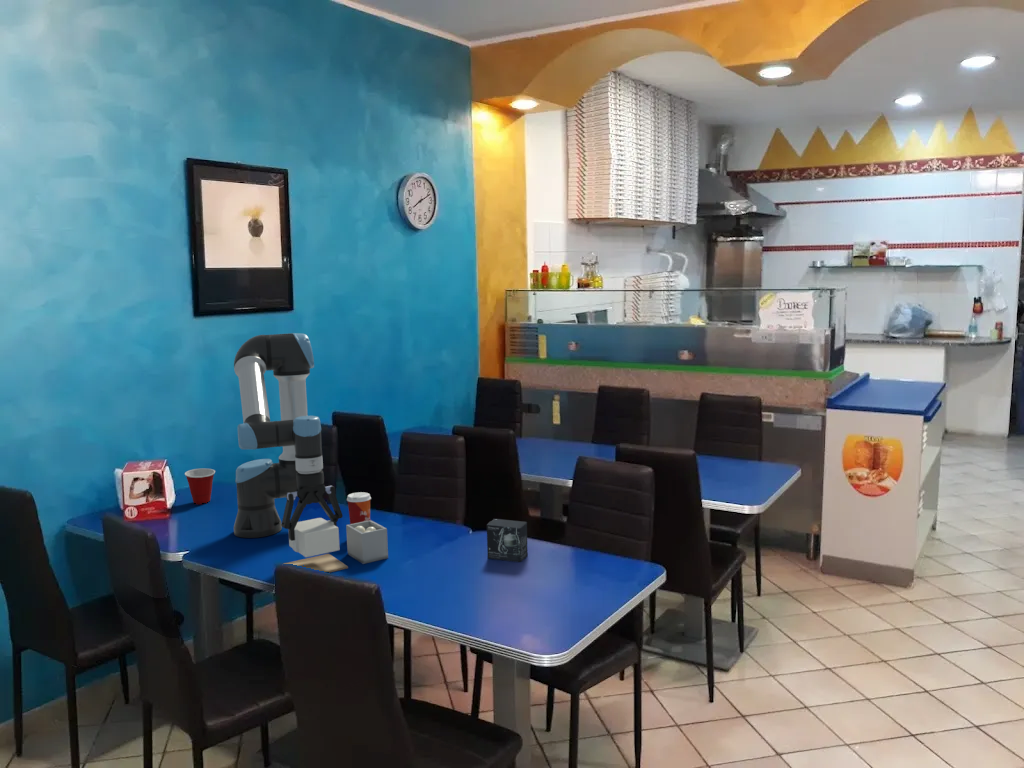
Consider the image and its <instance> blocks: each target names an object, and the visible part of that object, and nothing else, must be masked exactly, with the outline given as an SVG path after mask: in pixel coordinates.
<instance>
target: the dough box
mask: <svg viewBox="0 0 1024 768" xmlns="http://www.w3.org/2000/svg"><path fill="white" fill-rule="evenodd" d="M345 526H346V527H345V528H346V529H345V530H346V531H345V532H346V548H347V555H348V556H350V557H351V558H353V559H355V560H356V561H358V562H359V563H361V564H362V565H364V564H369V563H373V562H378V561H381V560H386V559H389V549H388V547H389V546H388V542H389V541H388V529H387V527H384V526H383V525H381V524H379V523H377V522H375V521H374V520H372V519H370V520H369V521H364V522H359V523H354V524H350V523H349V524H346V525H345Z"/></svg>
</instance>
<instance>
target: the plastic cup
mask: <svg viewBox="0 0 1024 768" xmlns="http://www.w3.org/2000/svg"><path fill="white" fill-rule="evenodd" d="M215 473H216V470H215V469H212V468H193V469H189V470H187V471H185V472H184V475H185V477H186V481H187V483H188V486H189V487H188V488H189V491H190V495H191V499H192V501H193V504H194V503H196V504H195V505H203V504H202V503H206V504H208V503H207V502H209V501H210V502H211V499H212V497H211V496H212V491H213V482H214V481H213V480H214V475H215ZM210 502H209V503H210Z"/></svg>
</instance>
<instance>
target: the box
mask: <svg viewBox="0 0 1024 768" xmlns="http://www.w3.org/2000/svg"><path fill="white" fill-rule="evenodd" d="M486 542H487V543H486V544H487V545H486V546H487V551H486V552H487V559H489V560H497V561H498V560H499V561H507V562H514V563H515V562H516V563H521V562H522V561H524V560H525V559H526V558H527V557H528V555H529V552H528V522H527V521H520V520H510V519H502V518H493V519H492V520H490V521H489V522H488V523H487V524H486Z"/></svg>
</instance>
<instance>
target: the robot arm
mask: <svg viewBox="0 0 1024 768" xmlns="http://www.w3.org/2000/svg"><path fill="white" fill-rule="evenodd" d="M313 368H315V359H314V354H313V347H312V343H311V340H310V339H309V336H308V335H307V334H305V333H299V332H297V333H295V332H291V333H277V334H259V335H255V336H252V337H250V338H249V339H247V340H246V341H245V342H244V343H243V344H242V345H241V346H240V347H239V349H238V350H237V352H236V354H235V357H234V360H233V369H234V373H235V375H236V376H237V377H238V384H239V393H240V402H241V411H242V412H241V413H242V420H243V421H242V422H243V423H239V424H238V425H237V439H238V447H239V449H240V450H258V449H267V448H268V449H269V448H277V447H279V448H280V447H282V453H281V454H280V455H279V456H278V462H275V463H274V462H273V460H272V459H271V458H261V459H260V458H259V459H254V460H251V461H247V462H244V463H242V464H241V465H239V466H237V468H236V470H235V481H234V482H235V484H236V499H237V514H236V517H235V521H234V525H233V534H234V536H235V537H237V538H244V539H255V538H265V537H268V536H272V535H275V534H277V533H280V532H281V530H282V528H284V529H286V530H289V531H288V540H289V539H290V540H291V541H293V548H292V550H293V551H294V552H296V553H299V544H298V529H296V528H295V527H296V525H297V522H299V520H300V518H301V516H302V513H303V512H304V509H305V508H306V507H307V505H311V504H319V505H320V506H321V508H322V509H323V511H324V512H325V514H326V516H328V518H329V519H330V520H329V519H328V520H327V521H328V522H330V523H332V524H333V525H335V526H337V525H338V524H337V522H338V521H339V520H340V519H342V518H343V517H344V516H343V513H342V509H341V507H340V504H339V501H338V498H337V496H336V487H335V486H333V485H331V484H330V485H328V486H325V476H324V470H323V469H324V463H323V462H324V461H323V450H322V448H323V447H322V444H323V443H322V426H321V420H320V416H318V415H317V416H316V415H308V399H307V385H306V382H307V381H306V379H307V378H308V376H310V374H311V369H313ZM266 371H273V372H272V373H273V377H274V378H275V379H276V380H277V381H278V391H279V404H280V405H279V407H280V408H279V409H280V420H272V421H271V418H270V417H271V416H270V409H269V402H268V395H267V388H266V380H265V373H266ZM325 493H326V494H328V498H329V500H330V504H331V506H332V509H331V507H330V506H329V505H328V504H327V501H326V499H324V497H323V496H324V494H325ZM297 497H298V501H297V505H296V507H295V509H294V508H293V507H294V501H295V500H296V498H297ZM283 498H286V502H285V507H284V511H283V516H282V520H281V518H280V516H279V513H278V510H277V508H276V504H275V503H276V502H275V499H283ZM293 509H294V512H293ZM332 510H333V511H332ZM292 512H293V513H292ZM337 527H338V526H337Z"/></svg>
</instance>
